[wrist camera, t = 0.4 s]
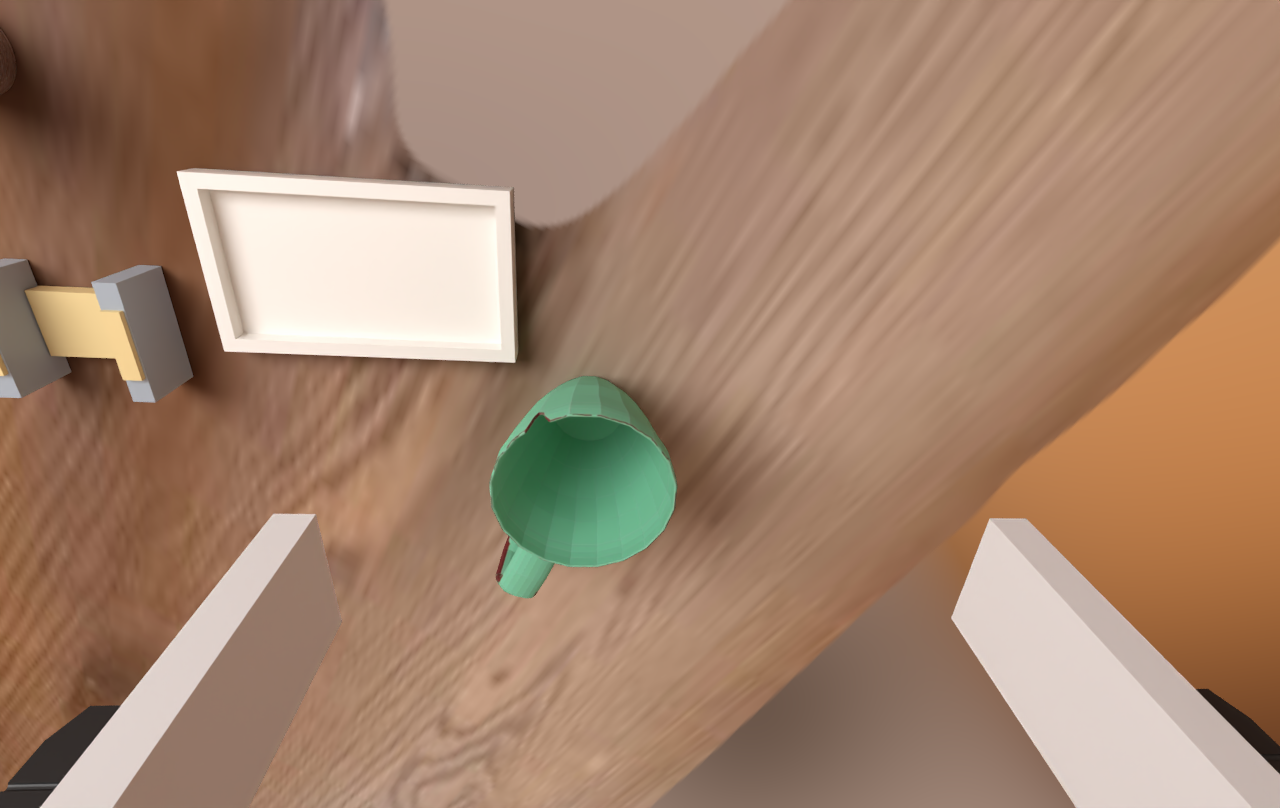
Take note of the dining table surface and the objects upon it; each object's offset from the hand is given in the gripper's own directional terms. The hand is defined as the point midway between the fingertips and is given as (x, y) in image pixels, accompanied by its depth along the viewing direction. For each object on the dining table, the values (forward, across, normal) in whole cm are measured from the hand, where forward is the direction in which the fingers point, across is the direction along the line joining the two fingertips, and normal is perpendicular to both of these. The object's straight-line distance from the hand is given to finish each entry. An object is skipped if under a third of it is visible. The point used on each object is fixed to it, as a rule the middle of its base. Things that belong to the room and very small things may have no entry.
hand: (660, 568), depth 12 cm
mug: (+27, -3, -12) cm, 30 cm away
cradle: (+27, -31, -5) cm, 41 cm away
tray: (+27, -15, -1) cm, 31 cm away
